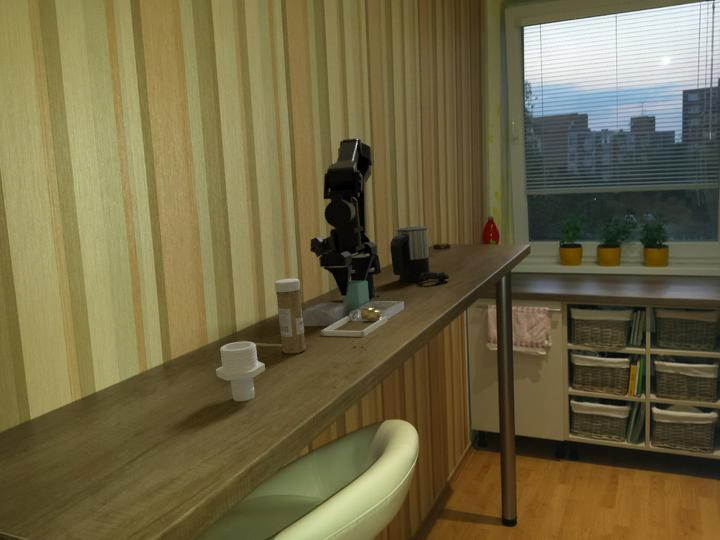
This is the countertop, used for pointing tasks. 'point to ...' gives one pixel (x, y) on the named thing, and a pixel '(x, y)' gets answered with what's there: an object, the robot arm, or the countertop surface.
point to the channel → (385, 306)
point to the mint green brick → (356, 294)
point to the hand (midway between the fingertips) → (352, 291)
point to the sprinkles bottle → (290, 315)
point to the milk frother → (412, 255)
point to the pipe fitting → (240, 368)
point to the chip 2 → (373, 315)
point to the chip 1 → (365, 311)
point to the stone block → (324, 314)
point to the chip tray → (332, 332)
